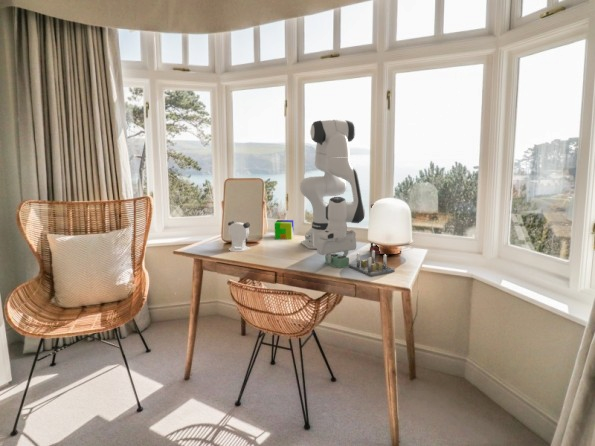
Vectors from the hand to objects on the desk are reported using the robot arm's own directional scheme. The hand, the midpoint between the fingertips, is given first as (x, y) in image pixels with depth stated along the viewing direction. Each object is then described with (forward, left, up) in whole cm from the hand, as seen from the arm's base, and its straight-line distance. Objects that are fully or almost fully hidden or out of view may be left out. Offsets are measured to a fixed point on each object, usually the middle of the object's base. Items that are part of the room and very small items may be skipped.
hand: (337, 261), depth 183 cm
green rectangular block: (0, 0, -2) cm, 2 cm away
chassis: (+14, +9, -2) cm, 17 cm away
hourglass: (-6, +35, -2) cm, 36 cm away
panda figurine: (-52, -29, -2) cm, 60 cm away
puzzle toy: (-64, +5, -2) cm, 64 cm away
